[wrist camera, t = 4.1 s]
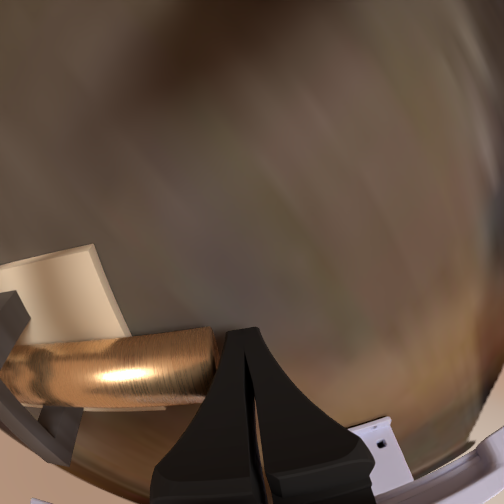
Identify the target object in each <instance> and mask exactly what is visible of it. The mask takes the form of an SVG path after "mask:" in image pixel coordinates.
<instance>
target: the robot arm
mask: <svg viewBox="0 0 504 504" xmlns="http://www.w3.org/2000/svg"><path fill="white" fill-rule="evenodd" d="M254 397H255V401H256V406H257V414H258V421H259V429H260V436H261V444H262V452H263V460H264V468H265V473H266V477H267V480H268V483H269V486H270V489H271V492H272V498H273V504H484V503H485V502H487V501H488V500H489V499H491V498H492V497H494V496H495V495H497V494H498V493H499V492H501V491H502V490H503V489H504V426H503V427H501V428H500V429H498V430H497V431H495V432H494V433H492V434H491V435H489V436H488V437H486V438H485V439H484V440H483V441H482V442H481V443H480V444H479V445H478V446H477V447H476V449H474V450H473V451H471V452H469V453H468V454H466V455H464V456H462V457H461V458H459V459H457V460H455V461H453V462H452V463H450V464H448V465H446V466H444V467H442V468H440V469H438V470H436V471H434V472H432V473H430V474H428V475H426V476H423V477H421V478H419V479H417V480H413V477H412V475H411V472H410V470H409V468H408V465H407V463H406V461H405V458H404V456H403V454H402V452H401V449H400V447H399V445H398V442H397V440H396V438H395V436H394V434H393V431H392V429H391V427H390V423H391V418H390V417H384V418H381V419H378V420H375V421H372V422H369V423H366V424H362V425H359V426H356V427H352V428H349V429H346V428H345V427H343V426H342V425H340V424H339V423H337V422H336V421H335V420H333V419H332V418H330V417H329V416H328V415H327V414H325V413H324V412H323V411H322V410H321V409H319V408H318V407H317V406H316V405H315V404H313V403H312V402H311V401H310V400H309V399H308V398H307V397H306V396H305V395H304V394H303V393H302V392H301V391H300V390H299V389H298V388H297V387H296V386H295V384H294V383H293V382H292V381H291V380H290V379H289V377H288V376H287V375H286V374H285V372H284V371H283V370H282V368H281V367H280V366H279V364H278V363H277V361H276V360H275V358H274V357H273V355H272V354H271V352H270V351H269V349H268V347H267V345H266V344H265V342H264V340H263V338H262V335H261V333H260V330H259V328H258V327H251V328H245V329H239V330H233V331H228V332H227V333H226V336H225V342H224V347H223V351H222V355H221V358H220V361H219V364H218V367H217V370H216V373H215V376H214V378H213V381H212V383H211V385H210V388H209V390H208V392H207V394H206V397H205V399H204V401H203V403H202V404H201V406H200V408H199V410H198V412H197V413H196V415H195V417H194V418H193V420H192V422H191V423H190V425H189V426H188V428H187V429H186V431H185V432H184V433H183V435H182V436H181V437H180V439H179V440H178V441H177V443H176V444H175V445H174V446H173V448H172V449H171V450H170V451H169V452H168V453H167V454H166V456H165V457H164V458H163V459H162V460H161V461H160V462H159V463H158V464H157V465H156V466H155V468H154V472H153V475H152V480H151V485H150V504H268V500H267V495H266V489H265V484H264V478H263V473H262V467H261V461H260V455H259V449H258V442H257V435H256V420H255V401H254ZM30 504H52V503H49V502H46V501H42V500H39V499H36V498H31V503H30Z"/></svg>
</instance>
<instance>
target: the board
mask: <svg viewBox="0 0 504 504" xmlns="http://www.w3.org/2000/svg"><path fill="white" fill-rule="evenodd" d="M123 337H132V335H131V333H130V331H129V329H128V327H127V324H126V322H125V320H124V318H123V316H122V314H121V311H120V309H119V307H118V304H117V302H116V300H115V298H114V295H113V293H112V290H111V288H110V286H109V283H108V281H107V278H106V276H105V273H104V271H103V268H102V265H101V263H100V260H99V257H98V255H97V252H96V249H95V246H94V244H89V245H85V246H80V247H76V248H71V249H67V250H62V251H58V252H54V253H49V254H45V255H41V256H36V257H32V258H28V259H24V260H20V261H16V262H12V263H8V264H4V265H0V370H1V369H2V367H3V365H4V363H5V361H6V359H7V358H8V356H9V354H10V352H11V351H12V349H13V347H14V345H31V344H50V343H66V342H80V341H92V340H103V339H114V338H123ZM24 406H29V407H38V408H42V410H41V413H40V416H39V419H38V421H37V420H36V419H35V418H34V417H33V416H32V415H31V414H30V413H29V412H28V411H27V410H26V409H25V407H24ZM153 410H166V406H157V407H134V408H83V407H61V406H47V405H36V404H26V403H20V402H19V401H18V400H17V398H16V397H15V396H14V395H13V394H12V392H11V391H10V390H9V389H8V388H7V386H6V385H5V384H4V383H3V381H2V380H1V379H0V420H1V421H2V422H3V423H4V424H5V425H6V426H7V427H8V428H9V429H10V430H11V431H12V432H13V433H14V434H15V435H16V436H17V437H18V438H19V439H20V440H21V441H22V442H23V443H25V444H26V445H27V446H28V447H29V448H30V449H31V450H33V451H34V452H35V453H36V454H37V455H38V456H40V457H41V458H42V459H43V460H44V461H46V462H47V463H52V464H57V465H62V466H68V467H70V462H71V458H72V453H73V449H74V445H75V441H76V436H77V433H78V429H79V425H80V421H81V417H82V414H83V411H153Z"/></svg>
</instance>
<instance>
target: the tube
mask: <svg viewBox="0 0 504 504" xmlns="http://www.w3.org/2000/svg"><path fill="white" fill-rule="evenodd" d="M219 361H220V356H219V351H218V347H217V343H216V339H215V336H214V333H213V330H212V328H211V327H210V326H209V327H203V328H196V329H189V330H181V331H174V332H166V333H158V334H150V335H142V336H133V337H123V338H114V339H103V340H92V341H80V342H66V343H50V344H31V345H14V347H13V349H12V351H11V352H10V354H9V356H8V358H7V359H6V361H5V363H4V365H3V367H2V369H1V370H0V379H1V380H2V381H3V383H4V384H5V385H6V386H7V388H8V389H9V390H10V391H11V392H12V394H13V395H14V396H15V397H16V398H17V400H18V401H19V402H20V403H26V404H36V405H47V406H61V407H83V408H134V407H157V406H172V405H185V404H195V403H203V401H204V399H205V397H206V394H207V392H208V390H209V388H210V385H211V383H212V381H213V378H214V376H215V373H216V370H217V367H218V364H219Z"/></svg>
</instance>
